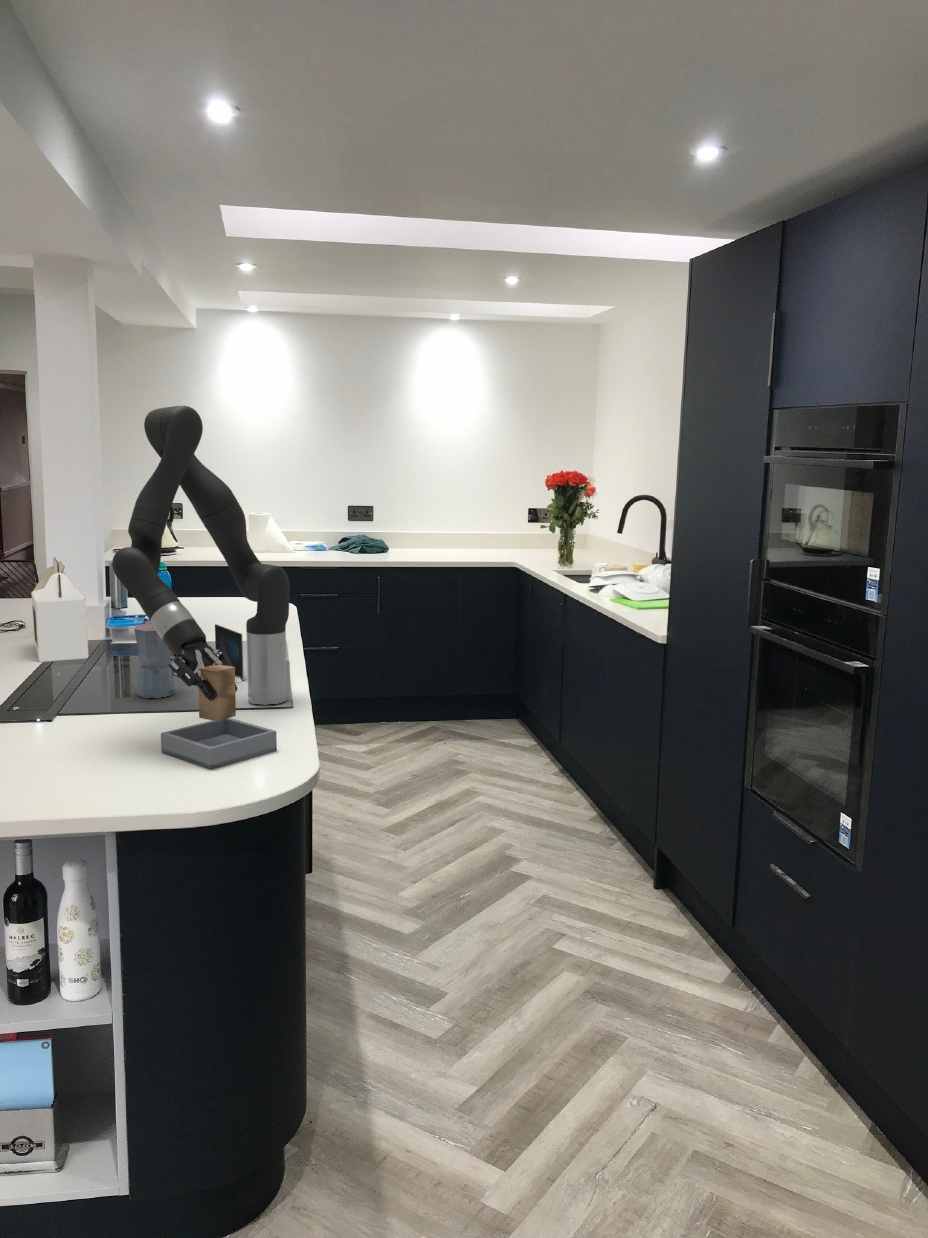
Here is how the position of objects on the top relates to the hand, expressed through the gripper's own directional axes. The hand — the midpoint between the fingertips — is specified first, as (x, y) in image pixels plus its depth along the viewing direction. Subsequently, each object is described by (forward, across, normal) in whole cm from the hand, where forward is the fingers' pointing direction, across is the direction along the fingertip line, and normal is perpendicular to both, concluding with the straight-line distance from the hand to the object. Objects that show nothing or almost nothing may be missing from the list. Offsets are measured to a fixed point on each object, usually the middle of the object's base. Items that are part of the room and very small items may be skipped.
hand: (224, 695), depth 187 cm
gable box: (-68, +48, +86) cm, 119 cm away
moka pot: (-25, +27, +42) cm, 56 cm away
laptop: (-27, +47, +44) cm, 69 cm away
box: (+7, 0, +10) cm, 12 cm away
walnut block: (+2, 0, +5) cm, 5 cm away
